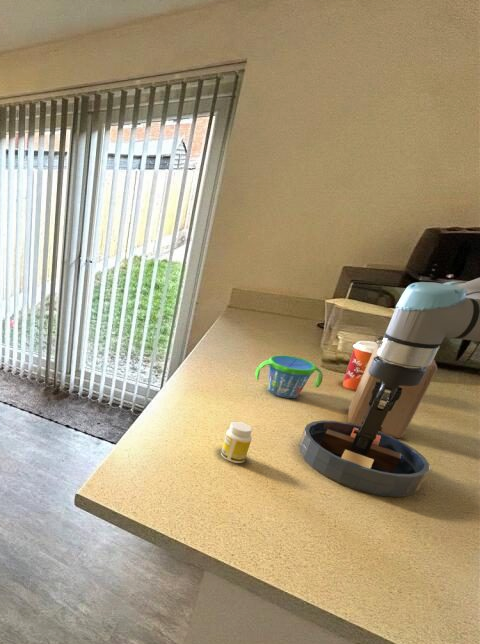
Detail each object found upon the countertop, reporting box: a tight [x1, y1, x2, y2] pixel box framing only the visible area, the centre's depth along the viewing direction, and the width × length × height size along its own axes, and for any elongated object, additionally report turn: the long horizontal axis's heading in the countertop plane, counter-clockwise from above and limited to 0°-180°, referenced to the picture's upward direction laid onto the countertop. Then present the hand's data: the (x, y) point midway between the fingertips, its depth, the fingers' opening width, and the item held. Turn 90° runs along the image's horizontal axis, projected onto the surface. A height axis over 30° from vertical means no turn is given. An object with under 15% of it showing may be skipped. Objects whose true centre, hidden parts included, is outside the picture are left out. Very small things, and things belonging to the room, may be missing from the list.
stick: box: [320, 429, 401, 473], centre depth 86 cm, size 12×2×4 cm, turn 41°
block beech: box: [341, 450, 374, 469], centre depth 82 cm, size 4×4×4 cm
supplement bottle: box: [220, 421, 253, 464], centre depth 89 cm, size 5×5×8 cm
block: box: [347, 345, 438, 439], centre depth 97 cm, size 10×10×20 cm
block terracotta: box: [350, 428, 381, 446], centre depth 89 cm, size 4×4×4 cm
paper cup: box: [342, 340, 378, 392], centre depth 116 cm, size 8×8×14 cm
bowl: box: [297, 419, 431, 498], centre depth 86 cm, size 20×20×6 cm
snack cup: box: [254, 354, 324, 399], centre depth 115 cm, size 16×10×10 cm
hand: (355, 456), depth 87 cm, fingers closed on stick, 2 cm apart
